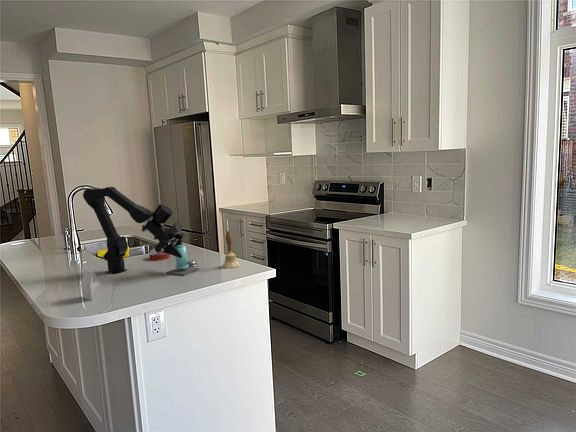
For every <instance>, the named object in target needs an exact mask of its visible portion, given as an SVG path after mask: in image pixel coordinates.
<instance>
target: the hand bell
mask: <svg viewBox="0 0 576 432" xmlns="http://www.w3.org/2000/svg"><path fill="white" fill-rule="evenodd" d="M225 240H226V241H225V242H226V244H227V253H226V254H225V255H224V256H225V258H224V262H223V264H222V265H221V268H223V269H227V268H228V269H235V268H238V267H240V266H241V264H240V263H239V262H238V260H237V257H236V256H237V255H236V254H235V253H233V250H232V242H233V238H232V234H231V231H229V230H227V231H226V235H225Z"/></svg>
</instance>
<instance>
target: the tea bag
mask: <svg viewBox="0 0 576 432" xmlns="http://www.w3.org/2000/svg"><path fill="white" fill-rule="evenodd" d="M80 286H81V295H82V299H86V300H89V301H91V302H92V301H95V300H99V299H102V288H101V282H100V280H99V279H98V277H97V275H96V273H95V271H90V270H85V269H84V270H83V275H82V279H81V281H80Z"/></svg>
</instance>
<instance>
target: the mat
mask: <svg viewBox="0 0 576 432" xmlns="http://www.w3.org/2000/svg"><path fill="white" fill-rule="evenodd" d="M198 271H200V267H187V268H183V269H177V268H176V267H175V268H173V269H171V270H168V271H166V272H165V274H166V275H171V276H182V277H184V276H188V275H190V274H193V273H195V272H198Z"/></svg>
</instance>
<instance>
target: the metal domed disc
mask: <svg viewBox="0 0 576 432" xmlns="http://www.w3.org/2000/svg"><path fill="white" fill-rule="evenodd" d="M187 263H188V265H189V267H192V268H197V267H198V266H199V263H197V260H195V259H192V260H191V259H189V260H187Z"/></svg>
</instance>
